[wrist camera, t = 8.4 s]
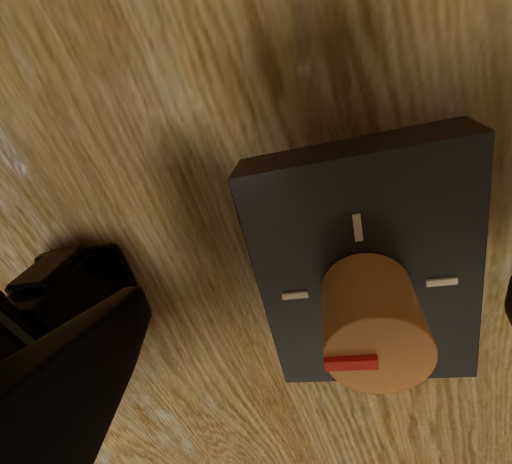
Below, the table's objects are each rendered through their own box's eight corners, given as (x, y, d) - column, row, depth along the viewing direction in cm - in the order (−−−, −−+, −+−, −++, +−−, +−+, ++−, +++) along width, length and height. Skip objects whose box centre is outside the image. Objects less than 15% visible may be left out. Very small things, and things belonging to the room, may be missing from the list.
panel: (457, 337, 22) (478, 379, 19) (288, 346, 25) (285, 385, 22) (466, 115, 16) (497, 130, 13) (239, 159, 18) (226, 180, 16)
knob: (409, 246, 16) (441, 318, 12) (412, 317, 18) (441, 400, 14) (314, 257, 17) (314, 327, 13) (327, 323, 19) (330, 402, 15)
